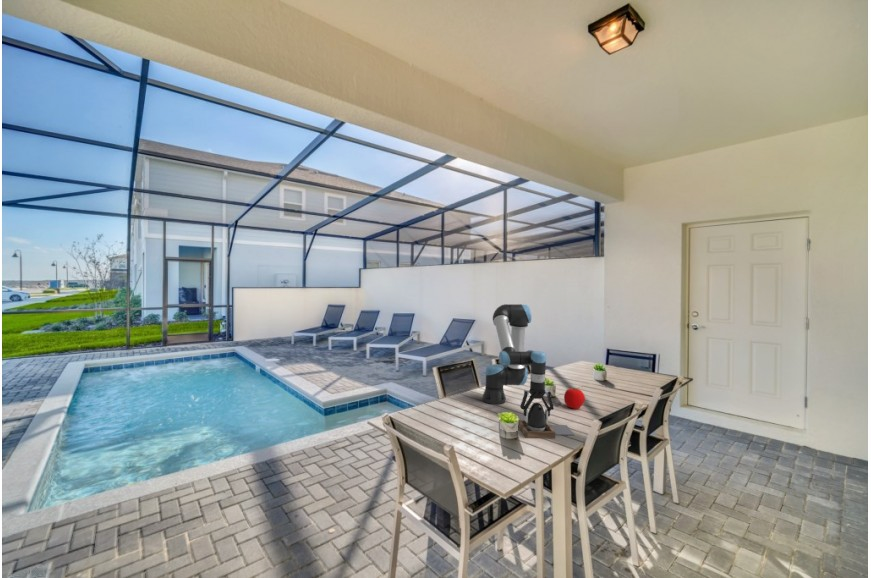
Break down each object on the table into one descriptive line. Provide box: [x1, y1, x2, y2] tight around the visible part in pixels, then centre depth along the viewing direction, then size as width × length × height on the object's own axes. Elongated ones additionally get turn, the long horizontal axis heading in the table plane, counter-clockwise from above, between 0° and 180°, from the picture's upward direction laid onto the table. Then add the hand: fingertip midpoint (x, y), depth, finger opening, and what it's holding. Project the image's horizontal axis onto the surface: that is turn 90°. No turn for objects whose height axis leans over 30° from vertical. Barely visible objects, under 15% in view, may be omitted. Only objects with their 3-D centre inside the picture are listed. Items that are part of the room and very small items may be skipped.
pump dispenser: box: [527, 402, 546, 431], centre depth 201 cm, size 10×10×15 cm
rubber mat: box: [549, 424, 575, 436], centre depth 203 cm, size 12×11×1 cm
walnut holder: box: [518, 419, 556, 439], centre depth 201 cm, size 15×15×3 cm
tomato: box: [563, 387, 586, 410], centre depth 238 cm, size 12×12×13 cm
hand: (536, 422), depth 201 cm, fingers closed on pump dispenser, 10 cm apart
